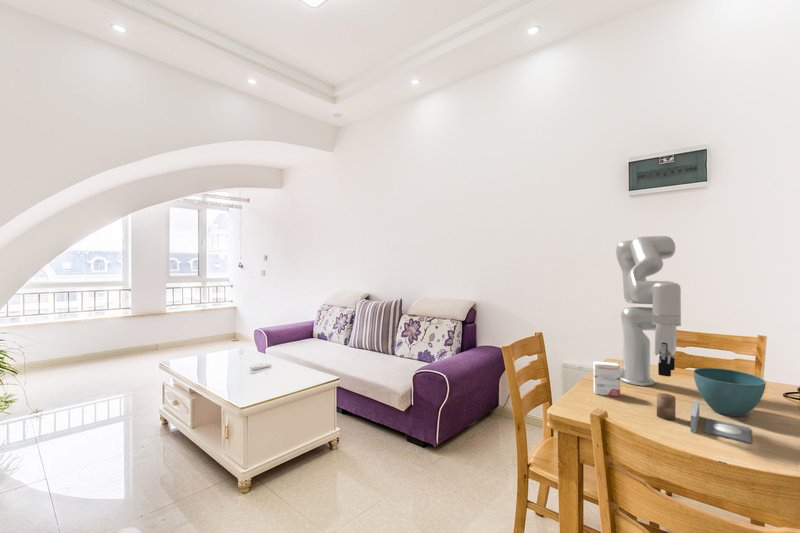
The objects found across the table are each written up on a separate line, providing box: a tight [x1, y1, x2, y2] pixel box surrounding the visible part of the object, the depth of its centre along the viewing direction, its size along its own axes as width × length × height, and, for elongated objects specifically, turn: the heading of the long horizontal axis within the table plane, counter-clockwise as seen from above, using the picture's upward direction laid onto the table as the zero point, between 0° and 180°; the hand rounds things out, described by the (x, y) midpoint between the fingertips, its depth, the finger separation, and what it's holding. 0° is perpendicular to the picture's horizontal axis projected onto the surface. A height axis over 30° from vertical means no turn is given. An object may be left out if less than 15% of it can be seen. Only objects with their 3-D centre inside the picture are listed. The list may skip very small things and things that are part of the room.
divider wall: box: [690, 399, 700, 434], centre depth 115 cm, size 1×16×5 cm, turn 138°
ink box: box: [592, 361, 621, 397], centre depth 142 cm, size 9×5×12 cm, turn 71°
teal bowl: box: [693, 367, 767, 417], centre depth 124 cm, size 18×18×12 cm
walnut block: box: [656, 392, 676, 421], centre depth 120 cm, size 5×5×7 cm
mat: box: [704, 417, 752, 444], centre depth 110 cm, size 10×12×1 cm
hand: (666, 372), depth 120 cm, fingers open, 9 cm apart
